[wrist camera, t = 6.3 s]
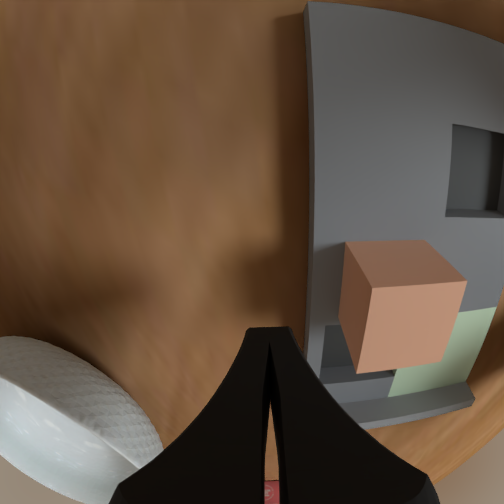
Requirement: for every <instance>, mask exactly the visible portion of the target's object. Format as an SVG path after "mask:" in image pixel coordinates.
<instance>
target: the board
mask: <svg viewBox="0 0 504 504" xmlns="http://www.w3.org/2000/svg"><path fill="white" fill-rule="evenodd" d="M303 15H304V29H305V45H306V63H307V85H308V114H309V248H308V278H307V302H306V321H305V338H304V353H303V355H304V357H305V358H306V360H307V362H308V363H309V365H310V366H311V368H312V369H313V371H314V372H315V374H316V375H317V377H318V378H319V380H320V381H321V382H322V384H323V385H324V386H325V388H326V389H327V390H328V392H329V393H330V394H331V395H332V397H333V398H334V399H335V400H336V401H337V403H338V404H339V405H340V406H341V407H342V408H343V409H344V410H345V411H346V413H347V414H348V415H349V416H350V417H351V418H352V419H353V420H354V421H355V422H356V423H357V424H358V425H359V426H361V427H362V428H363V429H364V430H365V429H371V428H378V427H384V426H389V425H395V424H400V423H405V422H410V421H415V420H419V419H424V418H428V417H432V416H437V415H441V414H445V413H448V412H452V411H456V410H459V409H463V408H466V407H470V406H471V405H472V404H473V402H474V400H475V397H474V395H473V393H472V392H471V390H470V388H469V386H468V385H467V383H466V380H467V377H468V375H469V373H470V371H471V369H472V367H473V365H474V363H475V360H476V358H477V356H478V354H479V351H480V349H481V347H482V344H483V342H484V339H485V337H486V334H487V332H488V329H489V327H490V324H491V321H492V319H493V316H494V313H495V310H496V307H497V305H498V302H499V299H500V296H501V292H502V289H503V286H504V44H503V43H501V42H498V41H496V40H493V39H491V38H488V37H485V36H482V35H480V34H477V33H474V32H471V31H468V30H465V29H462V28H459V27H456V26H452V25H449V24H445V23H442V22H438V21H434V20H431V19H427V18H423V17H418V16H414V15H409V14H405V13H400V12H395V11H389V10H384V9H378V8H371V7H364V6H357V5H348V4H338V3H327V2H311V1H308V2H307V4H306V7H305V9H304V11H303ZM393 240H425V241H426V242H427V243H429V244H430V245H431V246H432V247H433V248H434V249H435V250H436V251H437V252H438V253H439V254H440V255H441V256H443V257H444V258H445V259H446V260H447V261H448V262H449V263H450V264H451V265H452V266H453V267H454V268H455V269H456V270H457V271H458V272H459V273H460V274H461V275H462V276H463V277H464V278H465V279H466V280H467V284H466V288H465V291H464V295H463V298H462V302H461V305H460V308H459V312H458V315H457V318H456V321H455V324H454V327H453V330H452V333H451V336H450V339H449V341H448V344H447V347H446V350H445V352H444V355H443V358H442V360H441V362H436V363H430V364H424V365H418V366H412V367H406V368H399V369H392V370H384V371H377V372H368V373H359V374H356V371H355V368H354V365H353V361H352V358H351V355H350V352H349V349H348V346H347V343H346V339H345V336H344V333H343V330H342V327H341V324H340V321H339V318H338V314H339V305H340V296H341V286H342V276H343V265H344V252H345V242H351V241H393Z"/></svg>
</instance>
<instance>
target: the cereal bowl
mask: <svg viewBox="0 0 504 504" xmlns="http://www.w3.org/2000/svg"><path fill="white" fill-rule="evenodd" d="M163 450H164V449H163V447H162V442H161V441H160V438H159V434H158V433H157V432H156V430H155V427H154V426H153V425H152V423H151V421H150V419H149V418H148V417H147V416H146V414H145V412H144V411H143V410H142V409H141V408H140V407H139V405H138V404H137V402H136V401H135V400H133V399H132V398H131V396H130V395H129V394H128V393H127V392H125V391H124V390H123V389H122V388H121V386H119V385H118V384H116V383H115V382H114V381H113V380H111V379H110V378H109V377H107V376H106V375H105V374H104V373H102V372H101V371H99V370H98V369H96V368H95V367H93V366H92V365H91V364H89V363H88V362H86V361H83V360H82V359H81V358H79V357H77V356H75V355H73V354H72V353H70V352H67V351H65V350H64V349H61V348H60V347H56V346H53V345H52V344H50V343H48V342H43V341H41V340H37V339H33V338H30V337H27V338H26V337H22V336H20V337H17V336H5V337H0V455H1V456H2V457H3V458H5V459H6V460H7V461H8V462H10V463H11V464H12V465H13V466H15V467H16V468H18V469H19V470H20V471H22V472H23V473H25V474H26V475H28V476H29V477H31V478H32V479H34V480H35V481H37V482H39V483H41V484H42V485H44V486H46V487H48V488H50V489H52V490H54V491H56V492H58V493H60V494H62V495H65V496H67V497H69V498H72V499H74V500H77V501H80V502H83V503H86V504H109V502H110V500H111V498H112V495H113V493H114V491H115V489H116V487H117V485H118V484H119V483H120V482H122V481H123V480H125V479H126V478H128V477H129V476H131V475H132V474H133V473H135V472H136V471H138V470H139V469H141V468H142V467H143V466H145V465H146V464H148V463H149V462H150V461H151V460H153V459H154V458H155V457H156V456H157V455H159V454H160V453H161V452H162V451H163Z"/></svg>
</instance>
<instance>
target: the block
mask: <svg viewBox="0 0 504 504" xmlns="http://www.w3.org/2000/svg"><path fill="white" fill-rule="evenodd" d="M466 284H467V280H466V279H465V278H464V277H463V276H462V275H461V274H460V273H459V272H458V271H457V270H456V269H455V268H454V267H453V266H452V265H451V264H450V263H449V262H448V261H447V260H446V259H445V258H444V257H443V256H441V255H440V254H439V253H438V252H437V251H436V250H435V249H434V248H433V247H432V246H431V245H430V244H429V243H427V242H426V241H425V240H393V241H351V242H345V252H344V265H343V276H342V286H341V296H340V305H339V314H338V318H339V321H340V324H341V327H342V330H343V333H344V336H345V339H346V343H347V346H348V349H349V352H350V355H351V358H352V361H353V365H354V368H355V371H356V374H359V373H368V372H377V371H384V370H392V369H399V368H406V367H412V366H418V365H424V364H430V363H436V362H441V360H442V358H443V355H444V352H445V350H446V347H447V344H448V341H449V339H450V336H451V333H452V330H453V327H454V324H455V321H456V318H457V315H458V312H459V308H460V305H461V302H462V298H463V295H464V291H465V288H466Z"/></svg>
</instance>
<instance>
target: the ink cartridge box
mask: <svg viewBox="0 0 504 504" xmlns="http://www.w3.org/2000/svg"><path fill="white" fill-rule="evenodd" d="M265 504H279V481H265Z"/></svg>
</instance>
